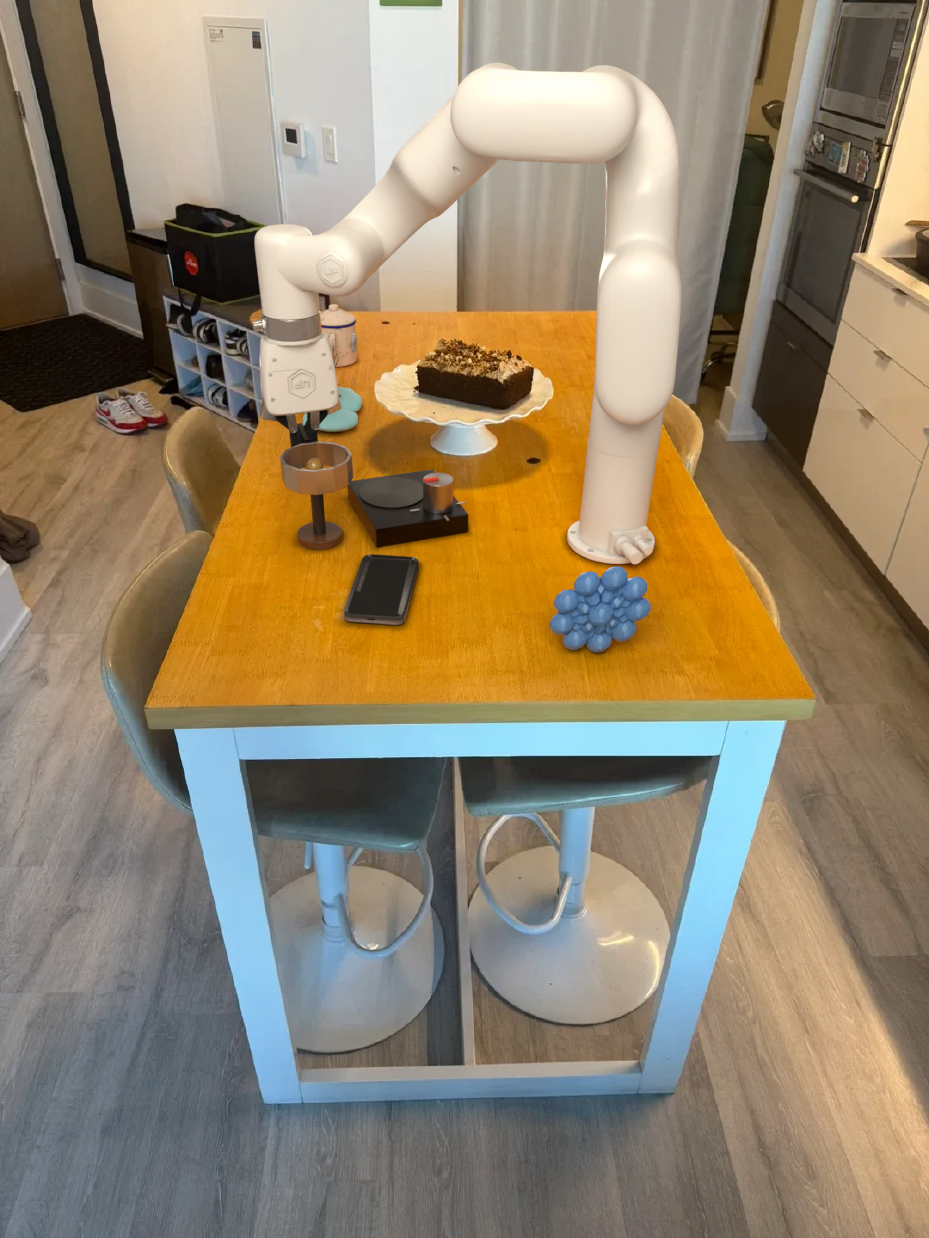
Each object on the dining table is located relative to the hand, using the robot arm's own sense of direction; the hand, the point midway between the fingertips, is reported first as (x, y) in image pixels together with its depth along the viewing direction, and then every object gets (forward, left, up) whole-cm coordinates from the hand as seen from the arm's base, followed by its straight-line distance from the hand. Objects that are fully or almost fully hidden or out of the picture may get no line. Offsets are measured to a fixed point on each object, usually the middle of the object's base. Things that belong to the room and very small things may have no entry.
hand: (305, 453), depth 131 cm
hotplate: (-5, -14, -10) cm, 18 cm away
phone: (-24, -4, -10) cm, 27 cm away
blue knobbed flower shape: (-44, -25, -10) cm, 52 cm away
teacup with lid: (+65, -20, -10) cm, 69 cm away
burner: (-3, -12, -7) cm, 14 cm away
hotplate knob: (-9, -17, -7) cm, 21 cm away
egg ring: (-5, 0, -1) cm, 5 cm away
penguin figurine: (+37, -13, -10) cm, 40 cm away
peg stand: (-8, 0, -10) cm, 13 cm away
